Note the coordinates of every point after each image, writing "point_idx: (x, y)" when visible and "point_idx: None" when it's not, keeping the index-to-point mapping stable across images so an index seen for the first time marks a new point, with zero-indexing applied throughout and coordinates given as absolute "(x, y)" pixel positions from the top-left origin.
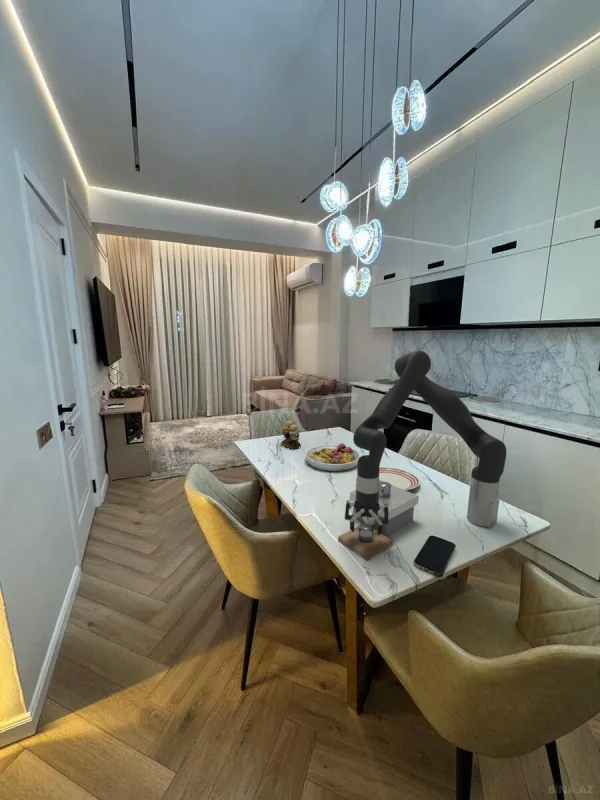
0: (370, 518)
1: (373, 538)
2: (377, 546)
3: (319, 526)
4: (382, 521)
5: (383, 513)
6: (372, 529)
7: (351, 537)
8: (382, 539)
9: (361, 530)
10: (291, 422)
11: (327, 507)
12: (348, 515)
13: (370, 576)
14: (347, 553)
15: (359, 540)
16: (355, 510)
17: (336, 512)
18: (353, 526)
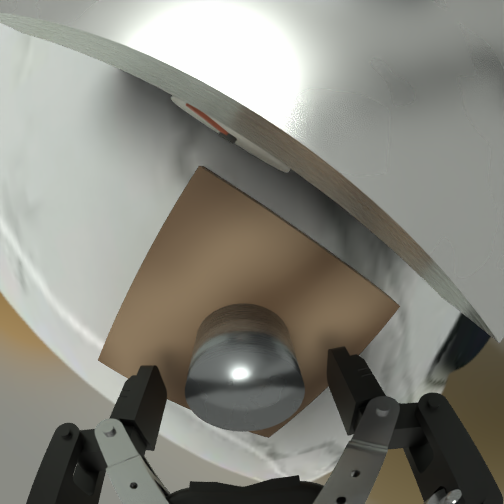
0: (257, 151)
1: (291, 330)
2: (313, 381)
3: (2, 254)
4: (389, 445)
5: (440, 288)
6: (295, 399)
7: (159, 354)
8: (345, 319)
9: (217, 426)
10: None
11: (2, 66)
12: (100, 488)
13: (281, 460)
14: (178, 410)
15: None
16: (115, 484)
17: (33, 79)
18: (155, 425)
